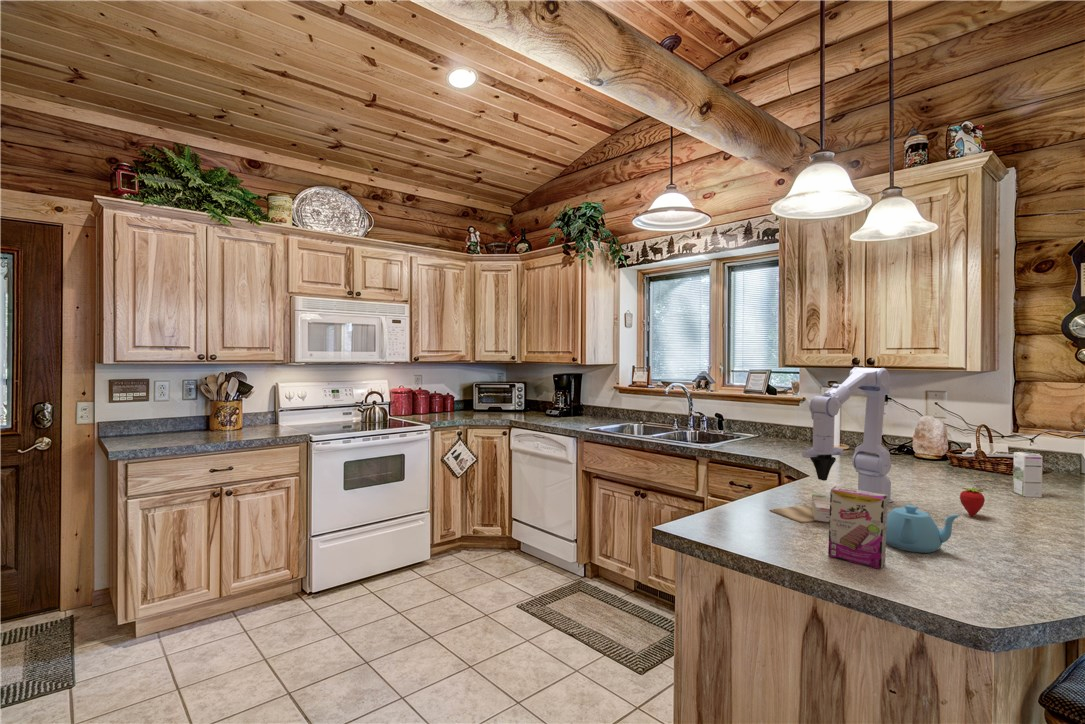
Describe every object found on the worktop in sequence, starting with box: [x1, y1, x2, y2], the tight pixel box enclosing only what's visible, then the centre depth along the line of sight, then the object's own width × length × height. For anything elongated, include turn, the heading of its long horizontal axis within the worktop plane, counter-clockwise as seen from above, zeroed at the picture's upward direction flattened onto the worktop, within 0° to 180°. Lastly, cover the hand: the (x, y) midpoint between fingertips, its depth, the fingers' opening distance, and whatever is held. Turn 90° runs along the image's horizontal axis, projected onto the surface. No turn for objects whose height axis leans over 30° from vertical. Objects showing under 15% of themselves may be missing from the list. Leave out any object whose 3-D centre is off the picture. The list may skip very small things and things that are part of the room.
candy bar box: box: [827, 485, 889, 570], centre depth 125 cm, size 11×5×16 cm, turn 48°
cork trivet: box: [769, 504, 819, 524], centre depth 160 cm, size 14×12×1 cm
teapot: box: [886, 504, 961, 554], centre depth 135 cm, size 15×15×10 cm
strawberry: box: [959, 487, 986, 517], centre depth 160 cm, size 6×8×10 cm
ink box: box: [811, 494, 830, 523], centre depth 155 cm, size 9×5×15 cm
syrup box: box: [1012, 451, 1044, 498], centre depth 185 cm, size 6×6×14 cm
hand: (822, 479), depth 163 cm, fingers closed
